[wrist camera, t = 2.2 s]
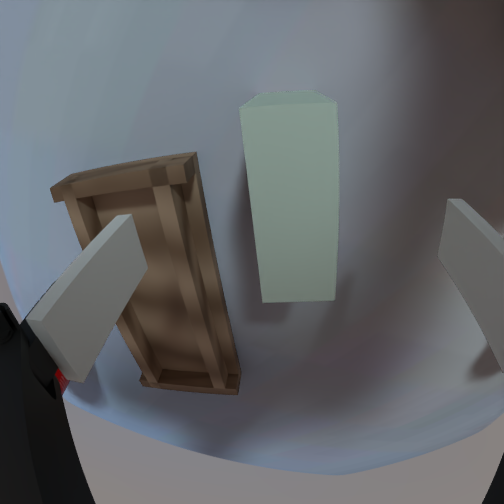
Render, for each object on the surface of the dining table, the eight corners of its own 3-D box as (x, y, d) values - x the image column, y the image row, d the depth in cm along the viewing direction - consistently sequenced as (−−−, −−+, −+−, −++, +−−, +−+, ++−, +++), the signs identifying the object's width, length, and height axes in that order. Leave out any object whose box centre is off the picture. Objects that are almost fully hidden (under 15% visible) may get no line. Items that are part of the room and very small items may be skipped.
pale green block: (258, 93, 18) (237, 108, 10) (314, 90, 17) (336, 102, 10) (271, 218, 23) (261, 302, 15) (320, 217, 22) (334, 300, 15)
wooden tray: (71, 174, 22) (49, 188, 19) (196, 151, 20) (183, 164, 18) (150, 366, 35) (142, 386, 32) (241, 373, 33) (237, 395, 30)
